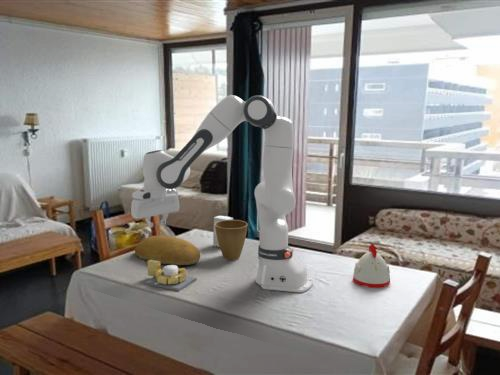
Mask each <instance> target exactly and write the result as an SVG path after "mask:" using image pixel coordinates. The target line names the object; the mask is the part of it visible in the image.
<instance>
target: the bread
mask: <svg viewBox="0 0 500 375" xmlns="http://www.w3.org/2000/svg"><path fill="white" fill-rule="evenodd" d="M134 253H135V255H136V256H137V257H139V258H140V259H142V260H145V261H149V260H155V261H160V262H161V264H163V265H176V266H185V265H186V266H188V265H189V266H190V265H194V264H196V263H198V262H199V261H200V259H201V251H200V250H199V248H198V247H197V246H195V244H193V243H191V241H188V240H186V239H183V238H179V237H176V236H172V235H164V234H161V235H152V236H147V237H145V238H143V239H142V240H141V241H140V242H139V243H138V244H137V245H136V246H135V249H134Z"/></svg>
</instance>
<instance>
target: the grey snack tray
mask: <svg viewBox="0 0 500 375" xmlns="http://www.w3.org/2000/svg"><path fill="white" fill-rule="evenodd" d="M178 268H179V265H172V264H167V265H164V266H163V267H162V269H163V276H168V277H169V276H170V274H173V273H174V274H175V276H176V275H178ZM197 280H198V278H197V277H196V276H195V277H193V276H190V275H186V279H185V280H184V281H182V282H181V283H179V282H178V283H177V284H170V285H168V284H167V285H166V284H161V283H158V282H157V281H156V277H154V276H152V277H151V278H149V279H147V280H145V281H144V285H147V286H152V287H156V288H160V289H161V288H162V289H167V290H171V291H176V292H181V291H182V290H183V289H185V288H187V287H188V286H190V285H191V284H193V283H195V282H196V281H197Z"/></svg>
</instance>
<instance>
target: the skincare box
mask: <svg viewBox="0 0 500 375" xmlns="http://www.w3.org/2000/svg"><path fill="white" fill-rule="evenodd" d="M223 220H234V217H231V216H226V215H217V216H214V217H213V235H212V236H213V241H212V246H213V247H216V246H217V248H220V246H219V243H218V239H217V235H216V229H215V223H217V222H219V221H223Z"/></svg>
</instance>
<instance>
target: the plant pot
mask: <svg viewBox="0 0 500 375" xmlns="http://www.w3.org/2000/svg"><path fill="white" fill-rule="evenodd" d="M215 229H216V235H217V239H218V243H219V246H220V247H219V250H220V252H221V255H222V257H223V259H225V260H230V261H232V260H233V261H235V260H238V259H239V258H240V257H241V254H242V252H243V248H244V245H245V242H246V238H247V237H246V236H247V232H248V223H247V222H246V221H243V220H240V219H233V220H223V221H219V222H217V223H215Z"/></svg>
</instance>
